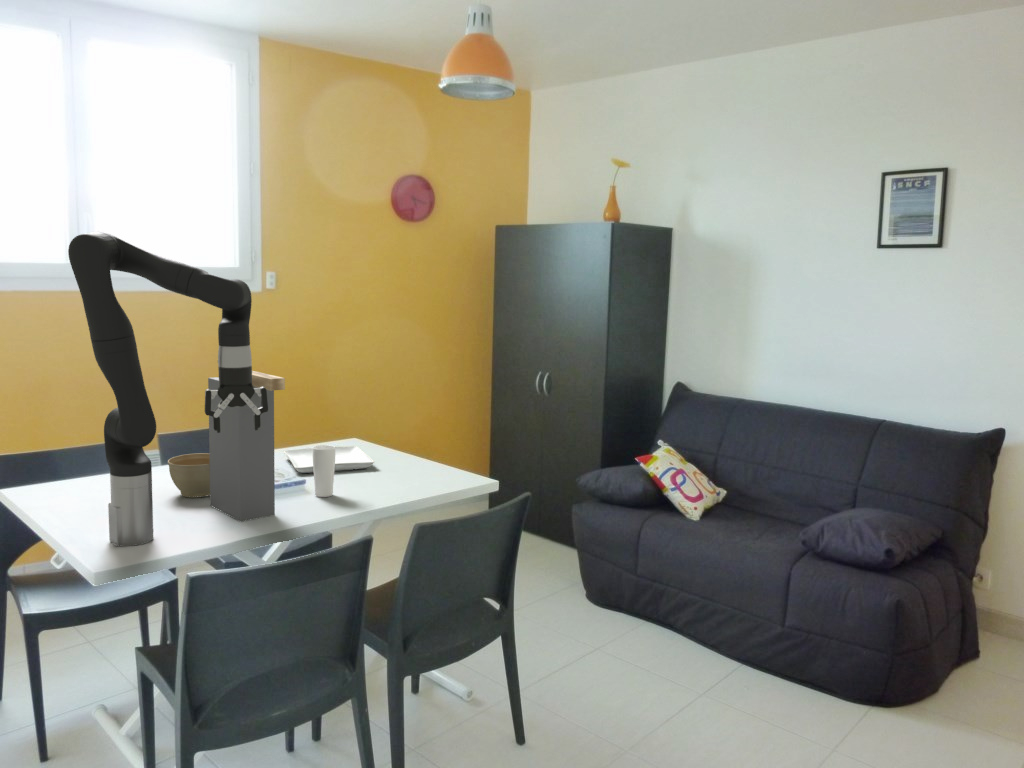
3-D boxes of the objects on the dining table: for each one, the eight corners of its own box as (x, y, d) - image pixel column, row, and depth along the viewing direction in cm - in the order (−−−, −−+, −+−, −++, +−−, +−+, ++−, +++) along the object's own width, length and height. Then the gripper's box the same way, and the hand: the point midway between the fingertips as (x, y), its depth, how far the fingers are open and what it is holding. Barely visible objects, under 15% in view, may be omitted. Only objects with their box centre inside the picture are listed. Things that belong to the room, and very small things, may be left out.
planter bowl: (193, 484, 249) (193, 451, 248) (237, 490, 244) (236, 456, 243) (156, 497, 234) (155, 461, 233) (201, 503, 229) (201, 467, 228)
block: (270, 390, 202) (270, 379, 202) (220, 377, 224) (220, 367, 224) (284, 389, 205) (284, 378, 205) (234, 376, 227) (234, 366, 226)
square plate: (282, 459, 288) (282, 449, 288) (356, 455, 300) (356, 444, 299) (295, 477, 264) (295, 465, 264) (375, 471, 276) (375, 460, 275)
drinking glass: (308, 494, 242) (308, 446, 240) (327, 491, 247) (327, 444, 245) (320, 499, 237) (320, 450, 235) (339, 496, 242) (339, 447, 240)
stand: (240, 521, 214) (238, 385, 209) (210, 505, 228) (208, 377, 223) (274, 515, 221) (273, 383, 216) (243, 499, 235) (242, 375, 230)
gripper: (204, 367, 182) (207, 436, 184) (268, 365, 188) (270, 432, 190) (201, 363, 188) (204, 430, 191) (264, 361, 194) (265, 425, 197)
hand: (237, 431), depth 190 cm, fingers open, 8 cm apart
